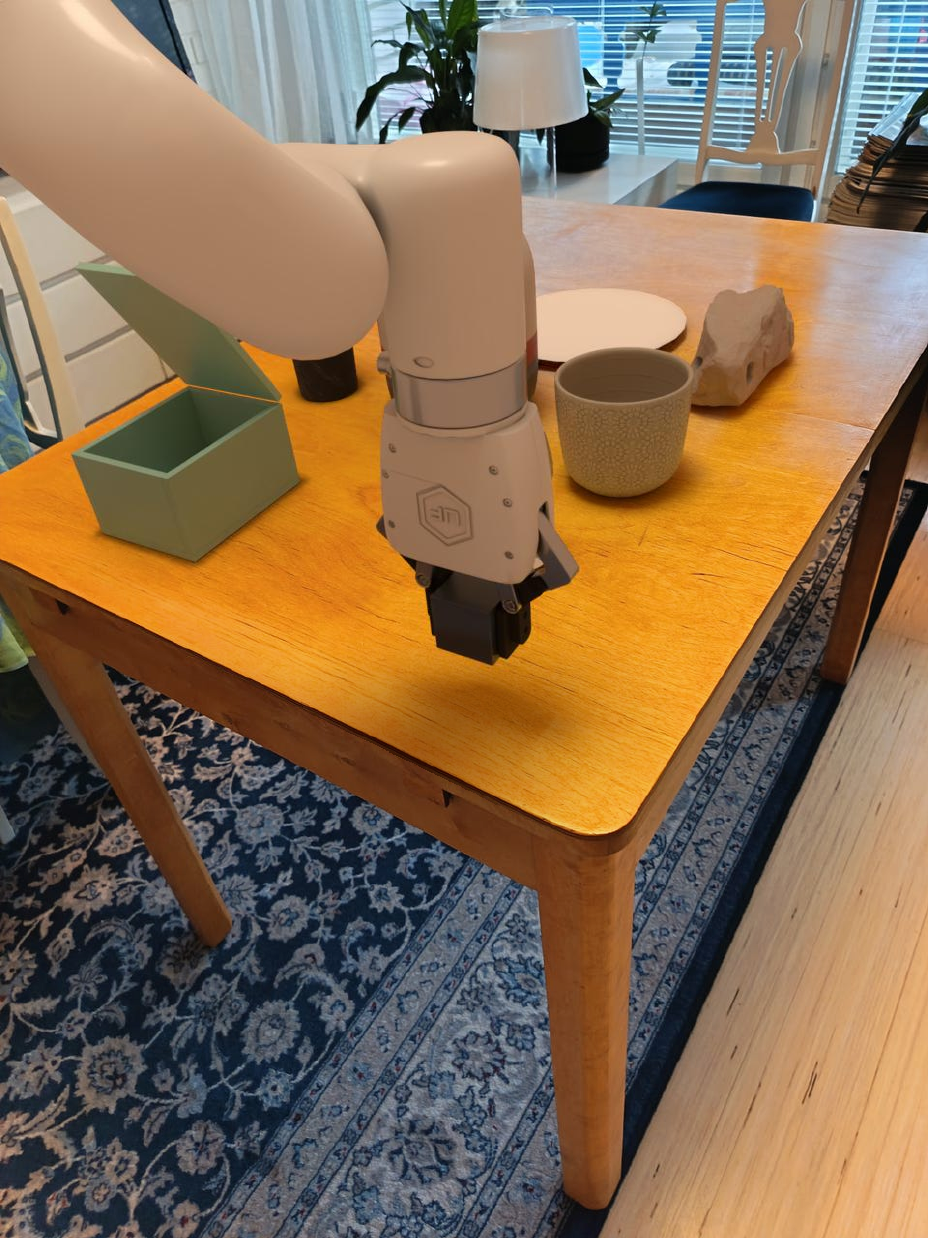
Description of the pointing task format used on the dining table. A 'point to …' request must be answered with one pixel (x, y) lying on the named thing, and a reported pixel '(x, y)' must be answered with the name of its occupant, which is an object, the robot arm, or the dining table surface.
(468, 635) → the block
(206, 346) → the cool box lid
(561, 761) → the dining table surface
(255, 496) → the cool box
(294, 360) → the travel mug
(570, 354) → the plate
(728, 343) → the decorative stone
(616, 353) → the planter
